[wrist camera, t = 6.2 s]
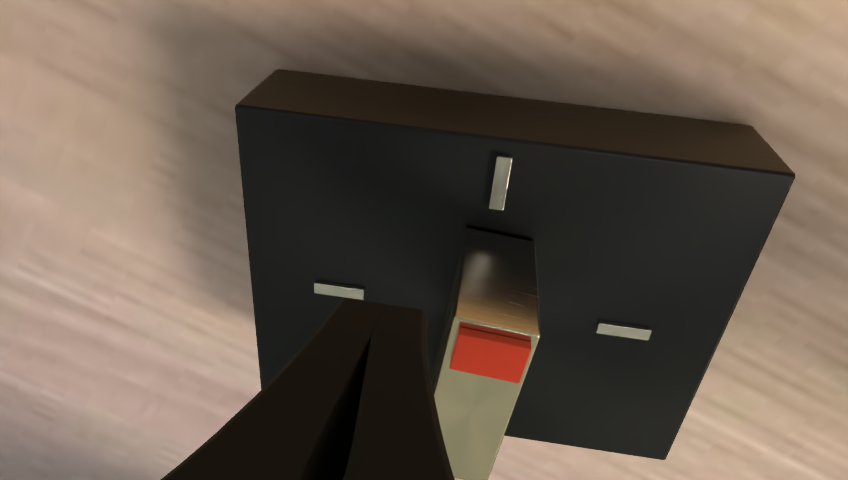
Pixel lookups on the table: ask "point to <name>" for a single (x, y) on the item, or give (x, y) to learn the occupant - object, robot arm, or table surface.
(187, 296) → the table surface
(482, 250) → the timer knob
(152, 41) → the table surface
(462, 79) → the table surface
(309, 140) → the panel
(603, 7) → the table surface
